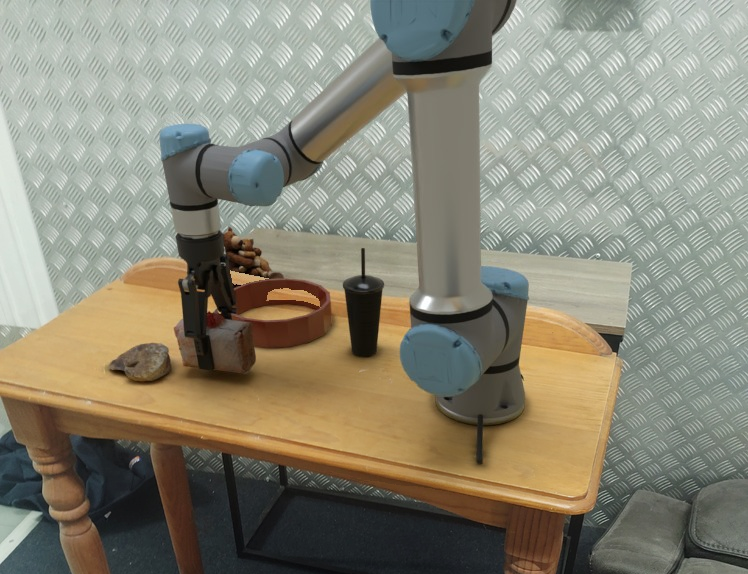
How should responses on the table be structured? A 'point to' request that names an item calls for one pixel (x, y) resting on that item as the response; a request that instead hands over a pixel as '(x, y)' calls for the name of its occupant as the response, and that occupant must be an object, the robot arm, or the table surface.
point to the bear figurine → (246, 257)
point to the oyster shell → (144, 362)
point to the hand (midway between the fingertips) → (217, 357)
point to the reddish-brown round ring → (286, 329)
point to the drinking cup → (363, 310)
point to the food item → (221, 344)
